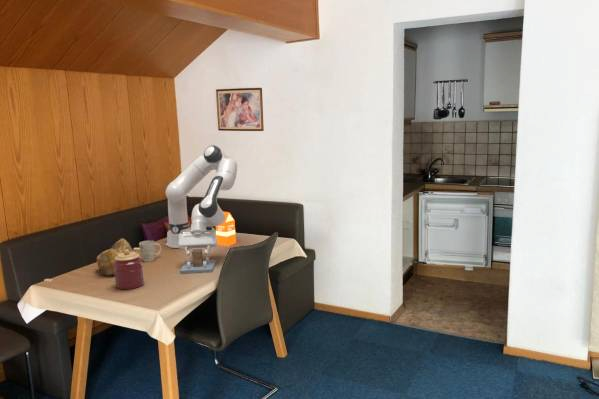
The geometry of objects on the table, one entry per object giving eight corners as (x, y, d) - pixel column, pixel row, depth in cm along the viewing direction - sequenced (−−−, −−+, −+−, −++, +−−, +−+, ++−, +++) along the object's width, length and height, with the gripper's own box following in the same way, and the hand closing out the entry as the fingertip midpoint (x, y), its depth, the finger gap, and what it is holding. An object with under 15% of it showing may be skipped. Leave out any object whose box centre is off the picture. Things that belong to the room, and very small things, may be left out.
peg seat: (185, 263, 271) (185, 255, 270) (215, 262, 272) (215, 254, 271) (180, 273, 255) (179, 265, 255) (212, 272, 256) (211, 263, 255)
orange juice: (225, 241, 314) (223, 209, 310) (236, 243, 309) (234, 211, 305) (216, 244, 307) (214, 212, 304) (227, 246, 302) (225, 213, 299)
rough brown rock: (110, 264, 279) (105, 238, 276) (138, 262, 276) (133, 235, 273) (87, 280, 256) (81, 251, 253) (117, 277, 253) (111, 249, 250)
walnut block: (194, 264, 265) (193, 249, 264) (203, 263, 266) (202, 248, 264) (193, 266, 261) (191, 251, 259) (201, 266, 261) (200, 251, 260)
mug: (137, 260, 281) (136, 243, 279) (157, 255, 290) (156, 238, 288) (145, 263, 275) (144, 245, 273) (165, 257, 284) (164, 240, 282)
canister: (144, 287, 237) (140, 251, 234) (114, 291, 234) (110, 254, 231) (144, 279, 250) (140, 244, 246) (116, 282, 246) (112, 247, 243)
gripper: (177, 229, 267) (175, 252, 259) (216, 227, 268) (215, 250, 260) (180, 235, 272) (178, 258, 264) (218, 233, 273) (217, 256, 265)
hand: (197, 254), depth 262 cm, fingers open, 8 cm apart
